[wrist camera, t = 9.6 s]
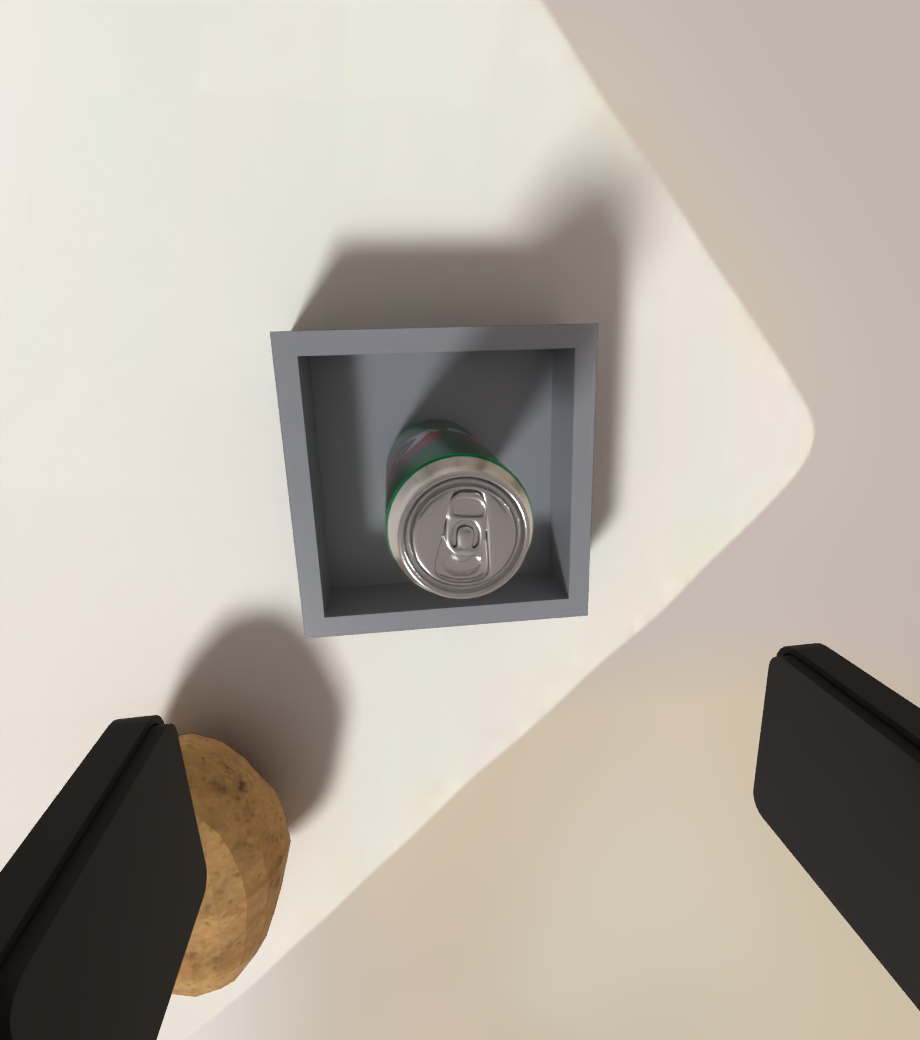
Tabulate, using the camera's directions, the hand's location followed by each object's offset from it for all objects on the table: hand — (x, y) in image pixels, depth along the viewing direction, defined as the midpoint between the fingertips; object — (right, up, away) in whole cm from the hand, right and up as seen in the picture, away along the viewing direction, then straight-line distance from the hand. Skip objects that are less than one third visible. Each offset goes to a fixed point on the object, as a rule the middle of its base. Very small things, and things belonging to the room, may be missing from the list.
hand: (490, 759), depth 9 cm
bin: (-2, +6, +22) cm, 23 cm away
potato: (-15, -13, +26) cm, 32 cm away
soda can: (-2, +7, +21) cm, 22 cm away
